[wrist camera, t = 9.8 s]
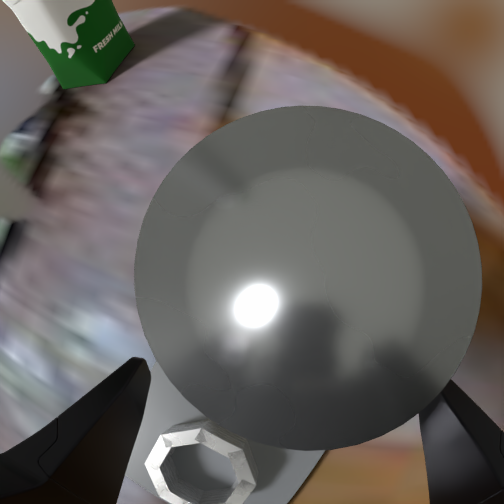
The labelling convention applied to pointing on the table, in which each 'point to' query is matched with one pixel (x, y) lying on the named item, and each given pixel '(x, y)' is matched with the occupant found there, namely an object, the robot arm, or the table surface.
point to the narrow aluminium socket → (218, 439)
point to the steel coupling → (308, 278)
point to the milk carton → (76, 37)
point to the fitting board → (212, 452)
